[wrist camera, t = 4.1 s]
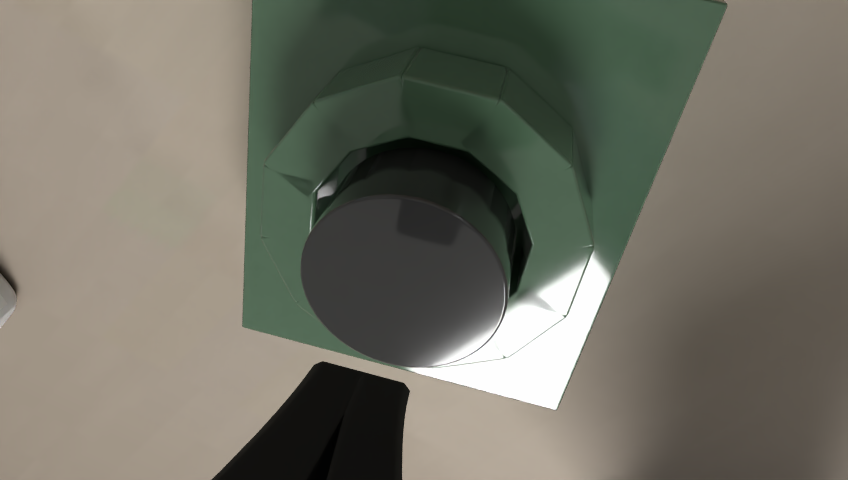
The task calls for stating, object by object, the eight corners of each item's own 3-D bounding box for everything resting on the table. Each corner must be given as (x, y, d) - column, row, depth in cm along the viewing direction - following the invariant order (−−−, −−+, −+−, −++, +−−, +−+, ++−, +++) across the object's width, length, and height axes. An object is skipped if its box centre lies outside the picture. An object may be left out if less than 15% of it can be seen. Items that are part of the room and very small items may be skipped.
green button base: (559, 335, 21) (555, 465, 17) (282, 263, 22) (212, 372, 17) (701, -32, 15) (750, 31, 11) (309, -120, 15) (211, -92, 11)
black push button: (491, 325, 15) (481, 390, 14) (323, 282, 16) (292, 340, 14) (538, 173, 13) (533, 227, 11) (341, 124, 13) (307, 171, 12)
